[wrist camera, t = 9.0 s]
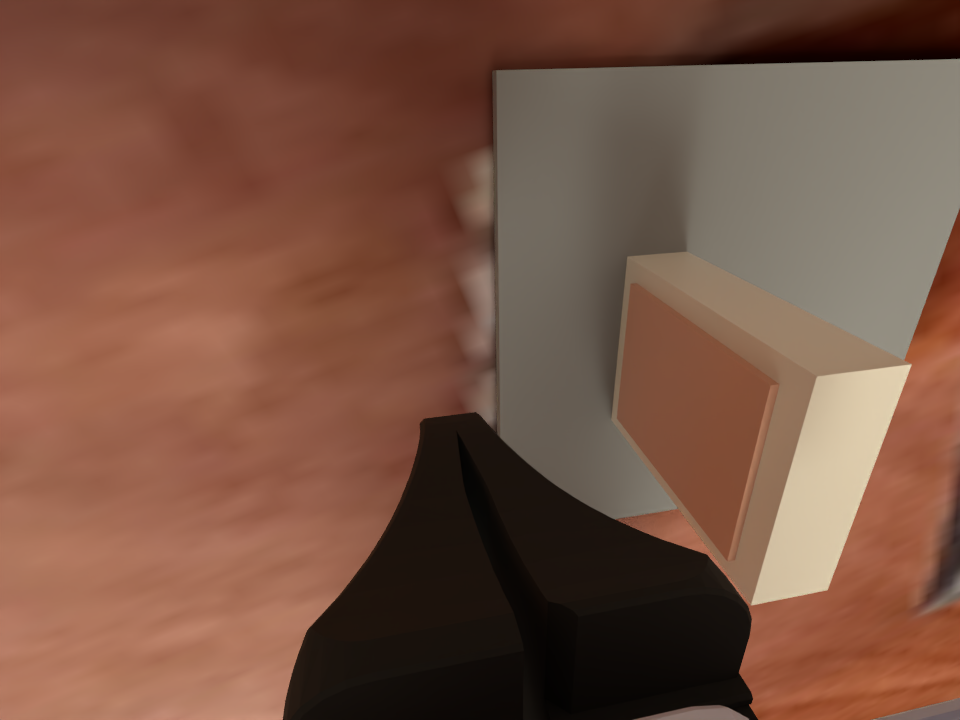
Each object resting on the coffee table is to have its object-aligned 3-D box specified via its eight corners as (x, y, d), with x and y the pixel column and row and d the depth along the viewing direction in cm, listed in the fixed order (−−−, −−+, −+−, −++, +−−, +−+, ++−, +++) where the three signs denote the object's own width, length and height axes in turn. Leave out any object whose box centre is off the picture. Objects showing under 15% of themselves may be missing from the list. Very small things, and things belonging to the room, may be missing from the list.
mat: (851, 471, 24) (860, 478, 24) (498, 528, 22) (501, 537, 21) (997, 58, 17) (1014, 58, 16) (492, 70, 14) (496, 70, 14)
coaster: (662, 412, 20) (827, 589, 13) (605, 420, 20) (743, 606, 12) (686, 251, 17) (911, 364, 10) (621, 256, 17) (806, 377, 10)
